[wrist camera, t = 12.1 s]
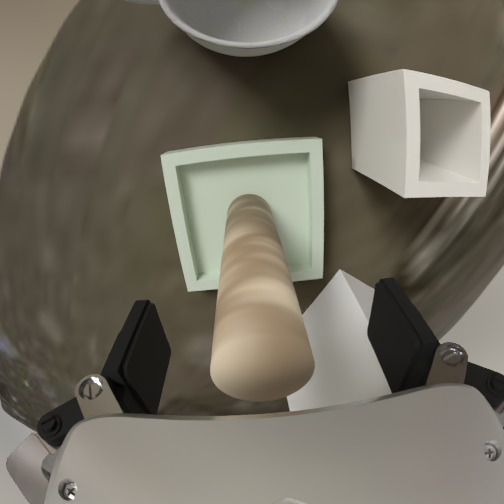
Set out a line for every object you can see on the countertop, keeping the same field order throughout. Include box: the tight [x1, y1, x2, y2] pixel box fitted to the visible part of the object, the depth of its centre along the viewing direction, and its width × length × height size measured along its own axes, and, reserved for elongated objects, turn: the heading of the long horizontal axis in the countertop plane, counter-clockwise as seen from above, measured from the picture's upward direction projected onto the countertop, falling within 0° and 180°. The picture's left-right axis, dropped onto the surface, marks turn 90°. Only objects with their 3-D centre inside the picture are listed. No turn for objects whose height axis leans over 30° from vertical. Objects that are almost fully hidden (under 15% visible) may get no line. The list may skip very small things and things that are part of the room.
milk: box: [287, 269, 392, 412], centre depth 20 cm, size 12×12×26 cm
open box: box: [348, 69, 490, 198], centre depth 17 cm, size 8×8×9 cm
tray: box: [161, 137, 324, 291], centre depth 24 cm, size 12×12×2 cm
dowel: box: [210, 194, 315, 402], centre depth 16 cm, size 4×4×16 cm
